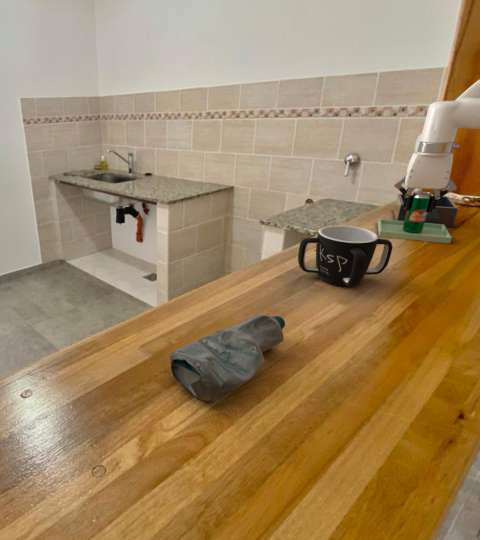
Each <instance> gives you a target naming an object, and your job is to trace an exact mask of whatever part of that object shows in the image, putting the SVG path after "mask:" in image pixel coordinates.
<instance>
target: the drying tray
mask: <svg viewBox="0 0 480 540" xmlns="http://www.w3.org/2000/svg"><path fill="white" fill-rule="evenodd" d="M403 224H404V221H396V219H382V218H379V219H378V222H377V228H378V229H377V230H378V237H382V238H383V237H384V238H394V239H401V240H402V239H403V240H411V241H422V242H431V243H441V244H451V242H452V236H451V234H450V232H449V230H448V229H447V228H448V227H445V225H444V224H432V223H425V224H424V227H423V231H422V232H420V233H408V232H405V231H404V230H403V229H402V228H403Z"/></svg>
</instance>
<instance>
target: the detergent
mask: <svg viewBox="0 0 480 540" xmlns="http://www.w3.org/2000/svg"><path fill="white" fill-rule="evenodd" d="M285 326H286V322H285V320H284V318H283V317H282V316H279V315H275V316H274V315H273V316H270V315H268V314H265V313H264V314H263V313H259V314H255V315H252V316H251V317H249V318H247V319H245V320H244V321H242V322H240V323H238V324H236V325H233V326H231V327H228V328H222V329H218V330H216V331H214V332H212V333H210V334H209V335H205V336H203V337H201V338H199V339H198V340H196V341H193V342H191V343H188V344H186V345H184V346H182V347H180V348H178V349H176V350H174V351H172V353H171V354H170V355H169V362H170V363H169V364H170V369H171V373H172V376H173V377H174V378H175V379H176V380H177V382H179V383H180V385H181V386H183V387H184V388H185V389H186V390H187V391H188V392H189V393H190V394H191V395H192V396H194V397H195V398H197V399H199V400H201V401H216V400H219V399H221V398H222V397H224V396H226V395H227V394H229V393H231V392H232V391H234V390H235V389H237V388H238V387H240V386H242V385H243V384H246V383H247V382H248V381H250V380H252V378H254V377H255V375H256V374H257V373H258V371H259V370H260V369H261V368H262V366H264V364H265V358H264V355H263V353H264V352H266V351H267V350H269V349H271V348H274V347H276V346H277V345H279V344H281V343H282V342H284V340H285V336H284V332H283V329H284V328H285Z"/></svg>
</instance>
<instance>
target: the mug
mask: <svg viewBox="0 0 480 540" xmlns="http://www.w3.org/2000/svg"><path fill="white" fill-rule="evenodd" d="M308 244H315V266H309V265H307V264H306V253H307V247H308ZM377 245H383V249H382V253H381V257H380V260H379V262H378V263H377V265H375V267H371V268H370V265H371V262H372V260H373V257H374V255H375V252H376V249H377ZM393 249H394V247H393V243H392V242H391V240H389V239H386V238H379V234H377V233H375V231H372V230H369V229H367V228H362V227H358V226H352V225H327V226H323V227H321V228H320V229H318V231H317V236H316V237H304V238H303V239H302V240H301V241H300V243H299V248H298V252H297V253H298V254H297V262H298V265H299V268H300V269H301V271H303V272H305V273H310V274H311V273H312V274H316V275H317V276H318V278H319V279H320V281H322V282H324V283H326V284H329V285H333V286H336V287H349V288H356V287H358V286H359V285H360V283H361V282H362V280H363V279H364V277H365V276H366V275H369V276H372V275H379V274H381V273H383V271H385V269H386V268H387V266H388V264H389V262H390V259H391V257H392V252H393Z"/></svg>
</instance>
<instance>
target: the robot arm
mask: <svg viewBox="0 0 480 540" xmlns="http://www.w3.org/2000/svg"><path fill="white" fill-rule="evenodd" d="M426 112H427V113H426V117H425V120H424V123H423V124H424V125H423V128H422V133H421V136H420V140H419V144H418V146H417V151H415V152H413V153H412V156H411V158H410V160H409V163H408V165H407V167H406V171H405V174H404V175H403V176H402V177H401V178H399V180H397V181H396V182H394V183H393V186H394V187H395V188H396V189H397V191H399V192H400V194H403V195H404V196H405V198H404V202H403V207H405V208H404V209H405V211H408V209H409V205H410V201H411V195H412V194H413V192H415V191H414V190H415V189H417V190H432V194H433V195H431V196H432V199H431V203H430V206H429V210H428V212H429V213H432V210H433V209H435V208H436V204H437V201H438V199H440V198H441V197H442V196H446V195H448V194H449V193H451V192H454V191H455V190H457V185H456V183H454V181H453V180H452V178H451V174H452V168H453V161H454V153H453V151H455V150H459V148H460V144H459V143H456V142H455V139H456V135H457V132H458V129H470V130H471V129H472V130H480V79H478V80H477V81H476V82H474V83H473V84H472V85H470V86H469V87H468V88H467V89H466V90H465V91H463V92H462V93H461V94H460V95H459V96H458V97H457V98H456V99H455V100H439V101H434V102H431V104H429V106H428V109H427V111H426ZM403 184H404V186H403ZM405 187H406V188H407V189H406V188H405Z"/></svg>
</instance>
